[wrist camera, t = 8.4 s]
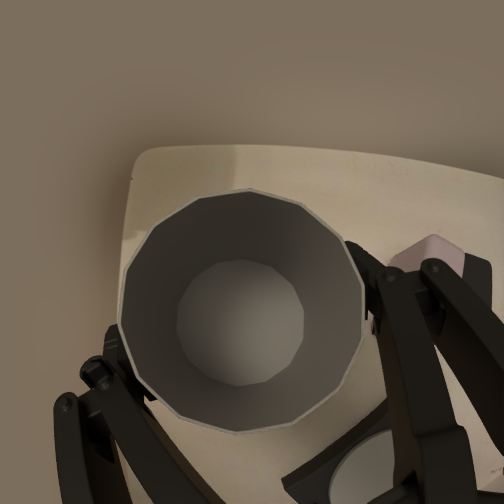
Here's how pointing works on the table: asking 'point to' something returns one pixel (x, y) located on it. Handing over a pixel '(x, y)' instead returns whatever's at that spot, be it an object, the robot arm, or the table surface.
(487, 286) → the phone
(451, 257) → the electronic device
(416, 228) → the table surface
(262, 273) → the cup
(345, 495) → the scale
